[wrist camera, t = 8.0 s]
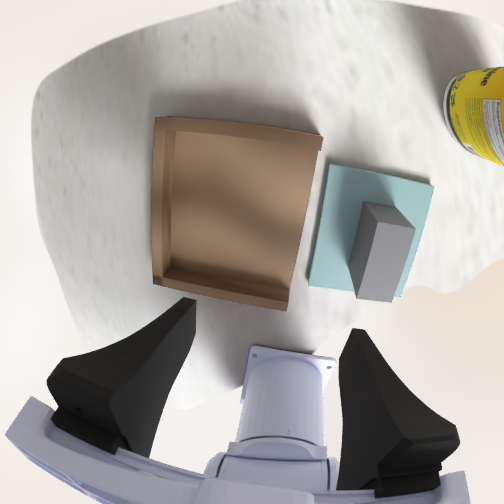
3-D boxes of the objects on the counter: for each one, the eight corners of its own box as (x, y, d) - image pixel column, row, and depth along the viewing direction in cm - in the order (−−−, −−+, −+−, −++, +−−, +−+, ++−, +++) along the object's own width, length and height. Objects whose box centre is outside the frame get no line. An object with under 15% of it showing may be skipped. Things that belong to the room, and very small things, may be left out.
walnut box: (287, 294, 23) (286, 311, 21) (163, 270, 24) (153, 283, 22) (320, 135, 18) (323, 137, 16) (169, 116, 18) (155, 117, 17)
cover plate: (397, 289, 22) (414, 329, 18) (307, 278, 23) (309, 319, 19) (428, 183, 18) (460, 204, 14) (328, 162, 19) (338, 177, 14)
